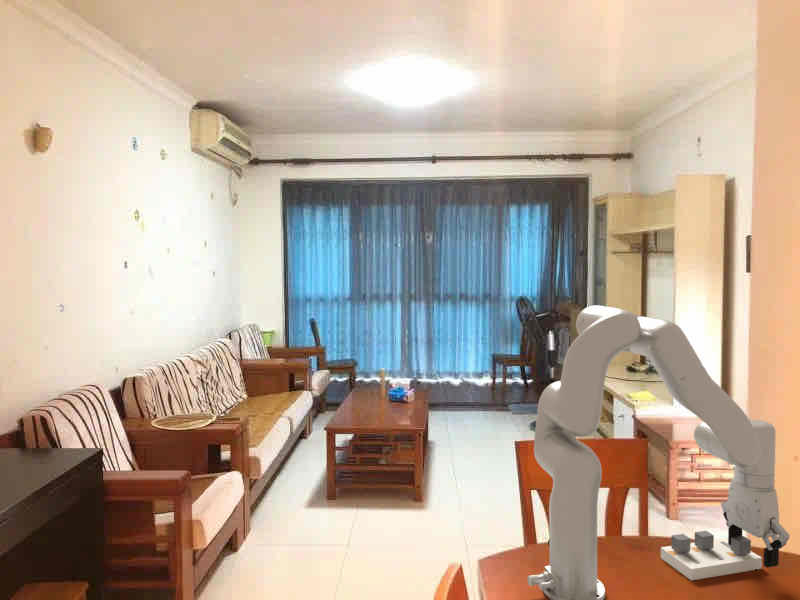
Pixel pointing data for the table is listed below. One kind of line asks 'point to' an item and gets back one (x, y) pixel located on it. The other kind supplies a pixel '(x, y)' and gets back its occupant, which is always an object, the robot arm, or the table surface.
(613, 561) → the table surface
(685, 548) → the left switch
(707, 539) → the middle switch
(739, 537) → the right switch
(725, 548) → the switch box
